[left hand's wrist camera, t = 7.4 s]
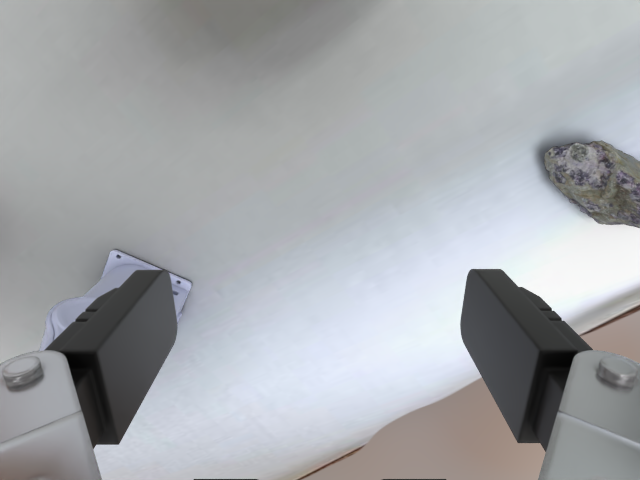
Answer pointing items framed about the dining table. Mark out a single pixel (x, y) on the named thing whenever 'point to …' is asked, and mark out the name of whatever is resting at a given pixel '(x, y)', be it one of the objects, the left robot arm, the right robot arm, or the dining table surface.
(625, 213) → the mineral rock
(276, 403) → the dining table surface
